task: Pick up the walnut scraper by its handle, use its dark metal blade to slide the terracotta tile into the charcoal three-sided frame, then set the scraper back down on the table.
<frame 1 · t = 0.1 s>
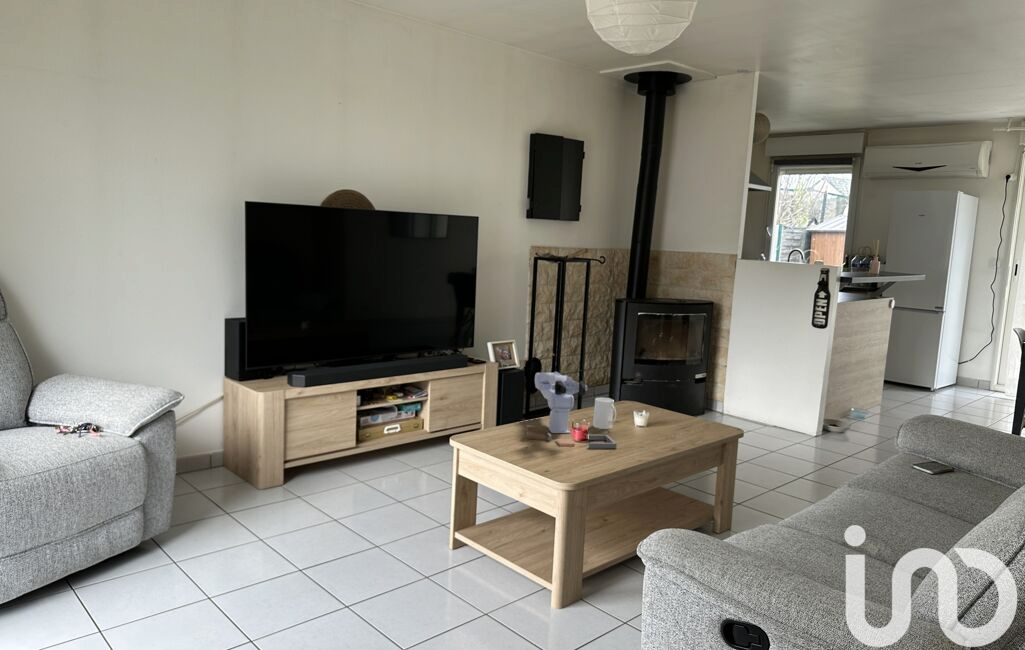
hand: (574, 390, 277), 22 cm above the table, tool horizontal, fingers open, 7 cm apart
frame: (597, 443, 283), on the table
tile: (565, 444, 281), on the table
mug: (604, 428, 308), on the table
scraper: (536, 438, 285), on the table
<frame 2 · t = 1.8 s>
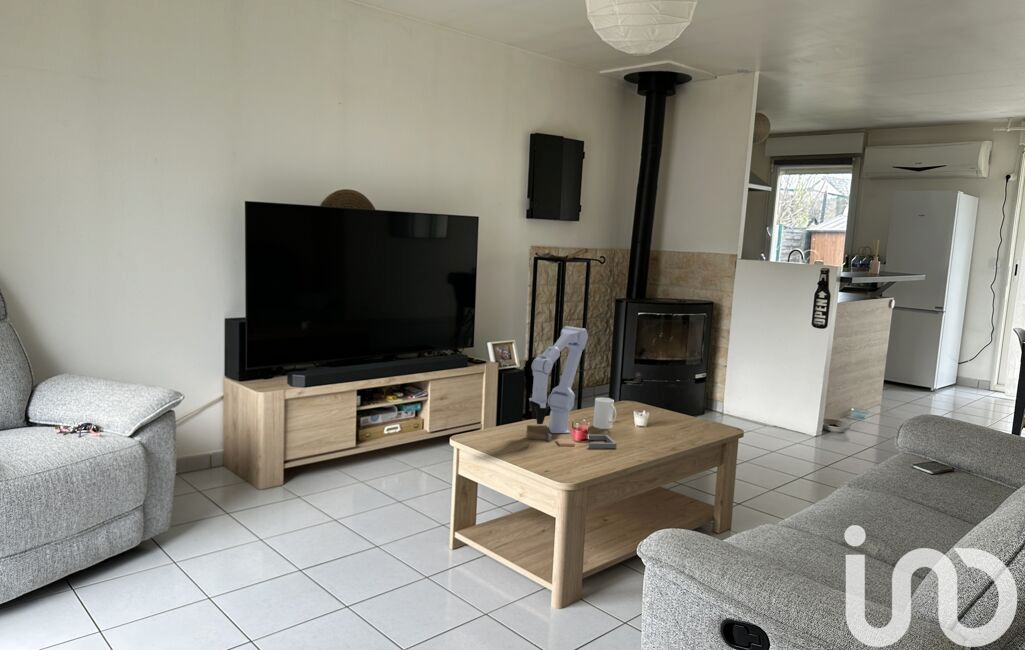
hand: (537, 421, 284), 7 cm above the table, tool pointing down, fingers open, 7 cm apart
nothing on the table moved.
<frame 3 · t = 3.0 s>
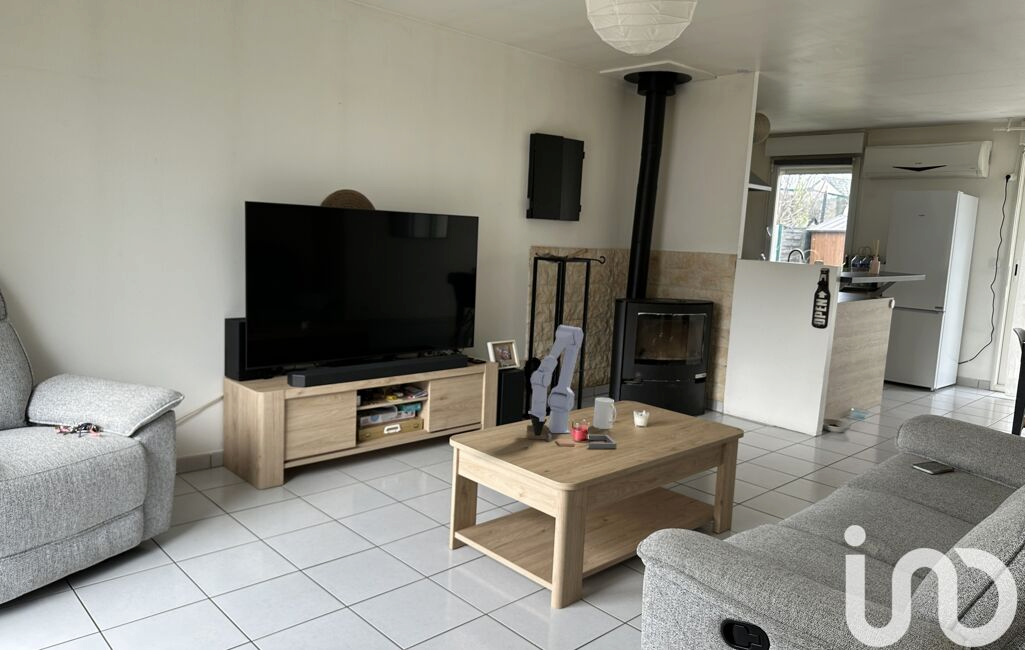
hand: (536, 434, 285), 2 cm above the table, tool pointing down, fingers closed on scraper, 2 cm apart
scraper: (536, 438, 285), on the table, touching gripper
everything else where it was.
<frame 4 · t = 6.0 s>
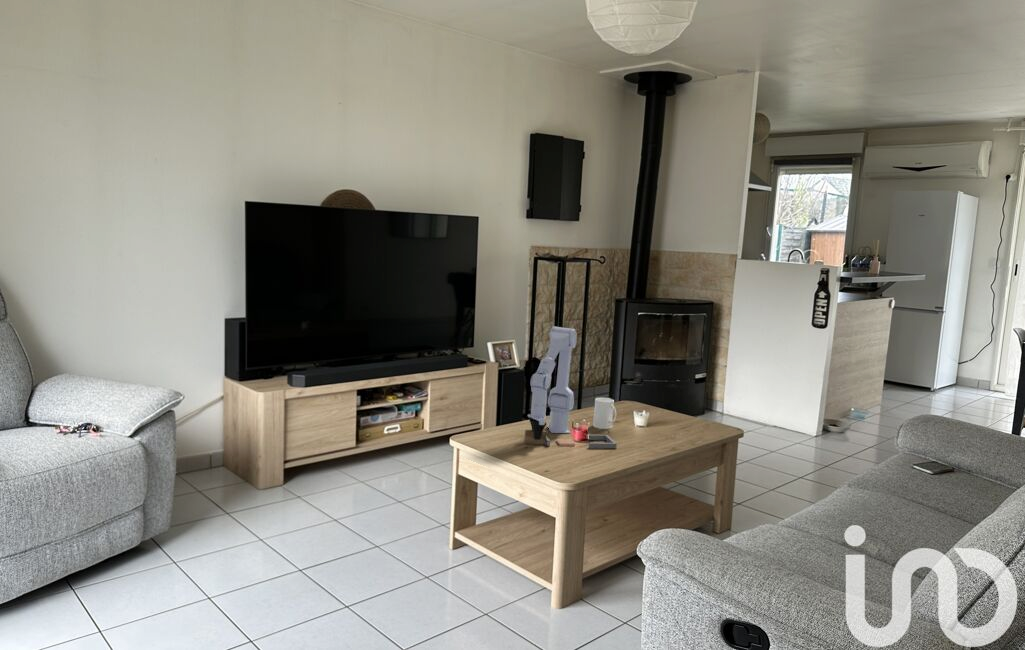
hand: (536, 438, 278), 2 cm above the table, tool pointing down, fingers closed on scraper, 2 cm apart
scraper: (534, 443, 278), on the table, touching gripper
everything else where it was.
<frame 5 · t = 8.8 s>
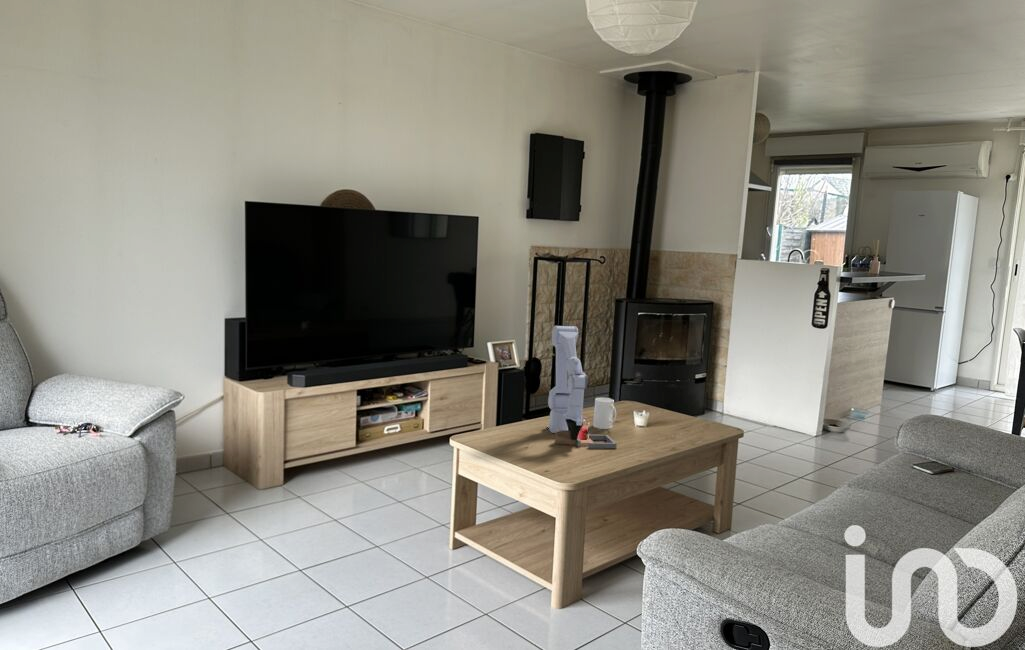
hand: (573, 438, 281), 2 cm above the table, tool pointing down, fingers closed on scraper, 2 cm apart
tile: (584, 444, 282), on the table
scraper: (565, 443, 280), on the table, touching gripper
everything else where it was.
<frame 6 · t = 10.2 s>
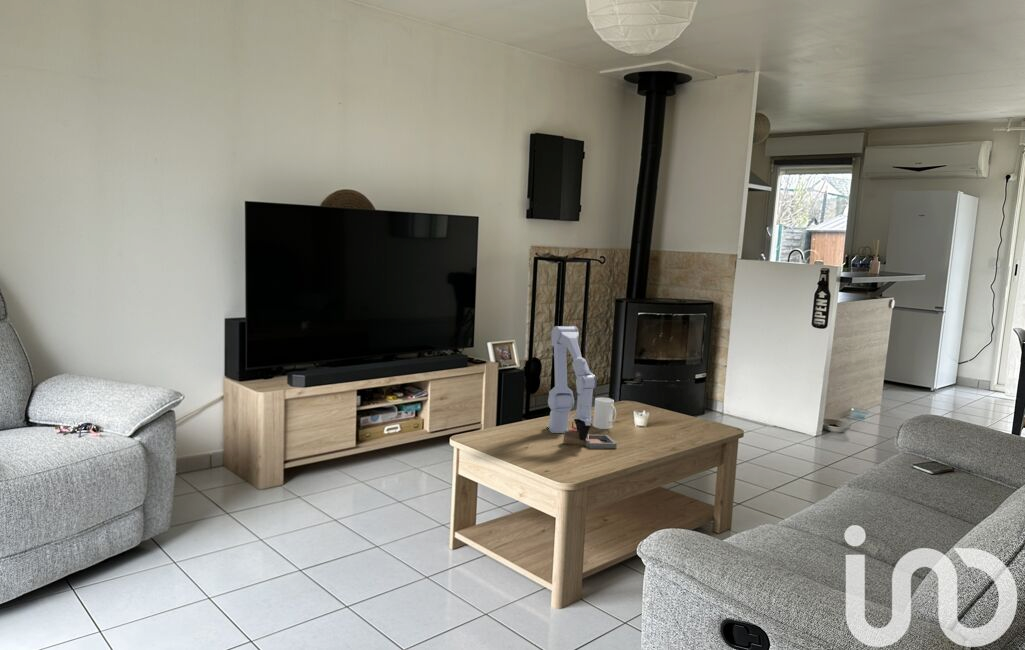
hand: (581, 438, 281), 2 cm above the table, tool pointing down, fingers closed on scraper, 2 cm apart
tile: (592, 444, 283), on the table
scraper: (573, 443, 281), on the table, touching gripper
everything else where it was.
when the fingers open (2 cm above the table, at t = 14.5 s): scraper stays where it is, on the table.
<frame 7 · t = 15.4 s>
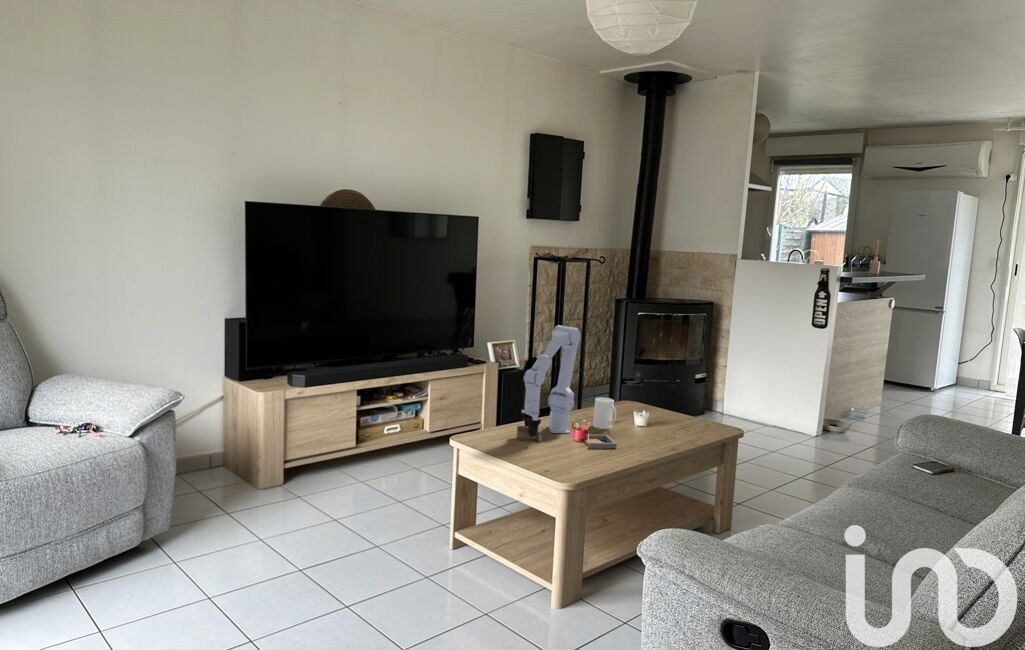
hand: (530, 433, 284), 2 cm above the table, tool pointing down, fingers open, 7 cm apart
scraper: (526, 439, 284), on the table
everything else where it was.
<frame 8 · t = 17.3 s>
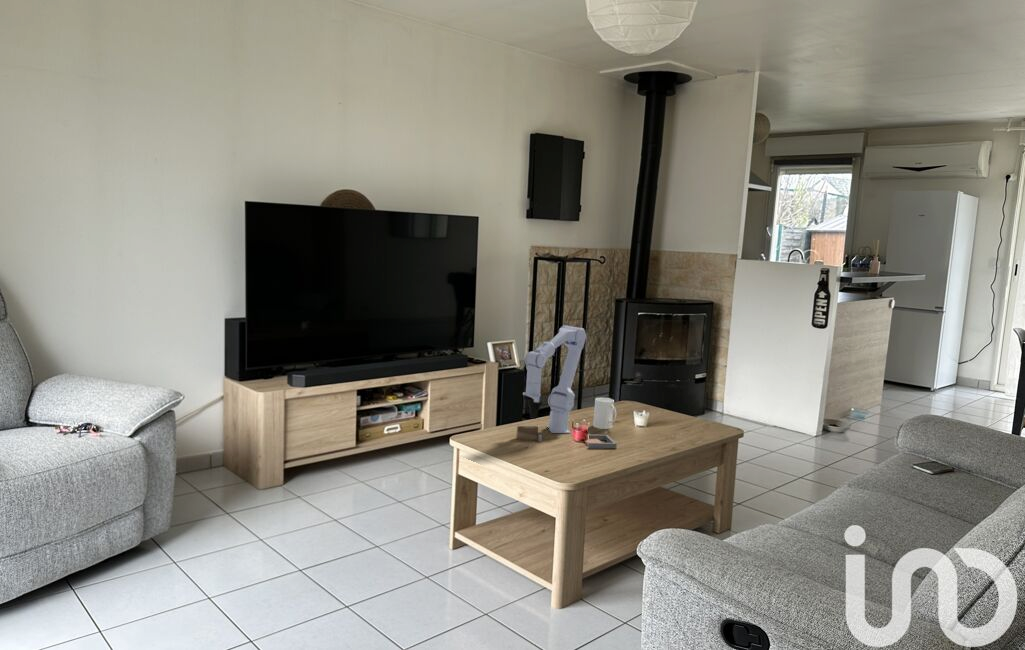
hand: (531, 415, 283), 9 cm above the table, tool pointing down, fingers open, 7 cm apart
nothing on the table moved.
at the end: tile inside the target area on the frame (2.0 cm from its centre), point -0.5 cm above the frame's base; the gripper is holding nothing; scraper inside the target area (1.2 cm from its centre), on the table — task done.
